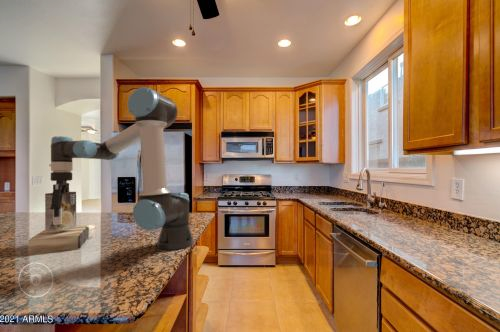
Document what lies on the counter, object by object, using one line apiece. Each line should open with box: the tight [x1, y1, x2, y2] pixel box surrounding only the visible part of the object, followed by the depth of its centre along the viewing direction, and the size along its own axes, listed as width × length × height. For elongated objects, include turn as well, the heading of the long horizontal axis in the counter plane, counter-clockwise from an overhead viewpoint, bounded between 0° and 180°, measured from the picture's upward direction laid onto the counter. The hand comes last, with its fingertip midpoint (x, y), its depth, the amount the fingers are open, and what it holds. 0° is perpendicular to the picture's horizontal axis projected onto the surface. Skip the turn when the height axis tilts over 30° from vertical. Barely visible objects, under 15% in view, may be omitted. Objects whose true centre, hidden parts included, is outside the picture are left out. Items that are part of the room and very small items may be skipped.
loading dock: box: [27, 225, 90, 256], centre depth 104 cm, size 18×17×6 cm
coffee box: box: [44, 191, 77, 232], centre depth 104 cm, size 9×6×16 cm
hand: (61, 221), depth 104 cm, fingers closed on coffee box, 10 cm apart
